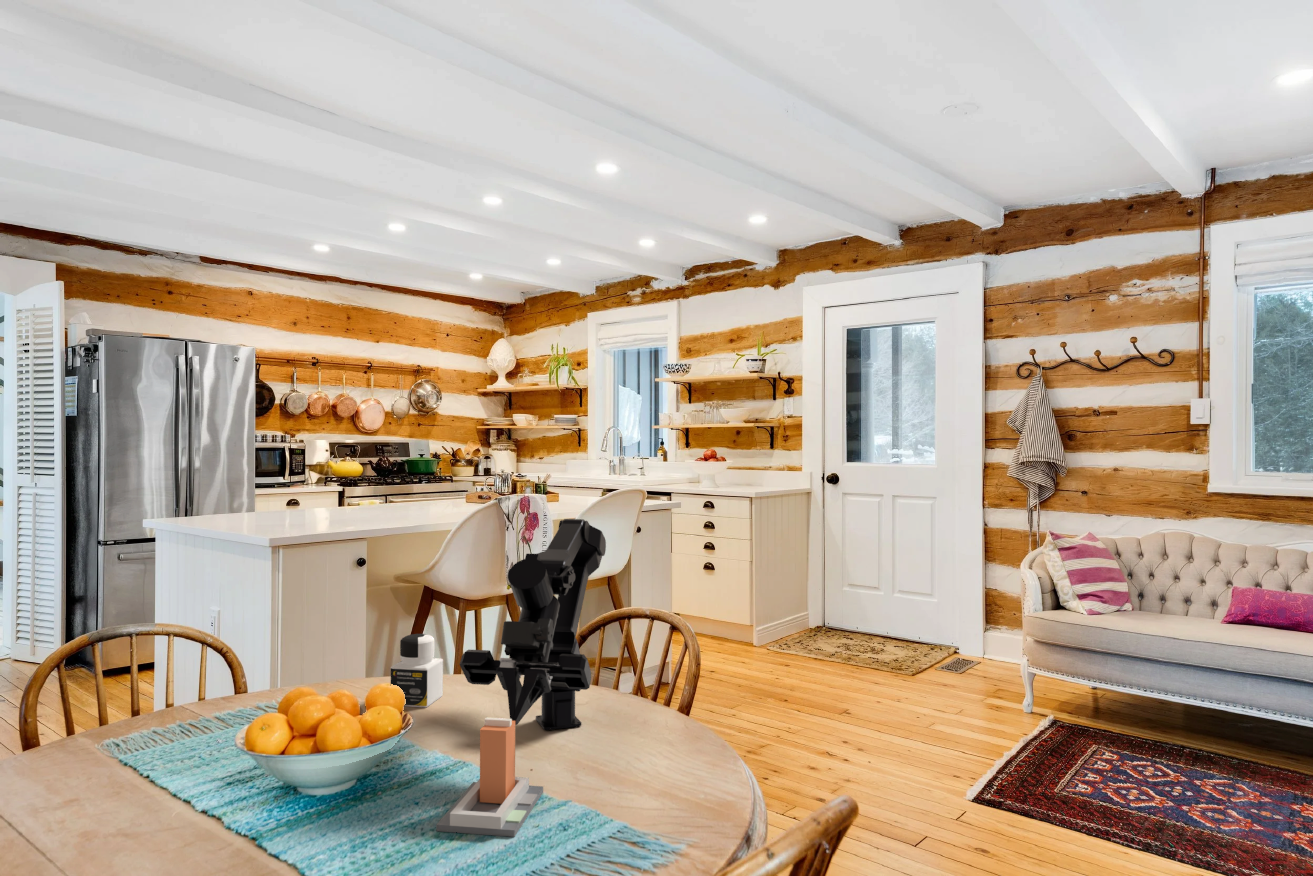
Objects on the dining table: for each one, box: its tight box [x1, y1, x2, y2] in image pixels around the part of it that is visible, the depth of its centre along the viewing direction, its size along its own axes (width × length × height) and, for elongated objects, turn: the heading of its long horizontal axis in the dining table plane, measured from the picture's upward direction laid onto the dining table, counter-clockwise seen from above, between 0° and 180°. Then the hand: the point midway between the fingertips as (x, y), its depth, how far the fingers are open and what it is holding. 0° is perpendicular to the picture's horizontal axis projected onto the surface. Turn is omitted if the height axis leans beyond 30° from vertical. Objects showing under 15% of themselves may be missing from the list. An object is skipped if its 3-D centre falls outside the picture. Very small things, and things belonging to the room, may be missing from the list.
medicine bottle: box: [390, 633, 444, 708], centre depth 155 cm, size 7×7×12 cm
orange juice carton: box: [479, 716, 516, 804], centre depth 112 cm, size 4×4×10 cm
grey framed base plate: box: [435, 776, 544, 838], centre depth 110 cm, size 13×10×2 cm
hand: (513, 723), depth 118 cm, fingers closed
